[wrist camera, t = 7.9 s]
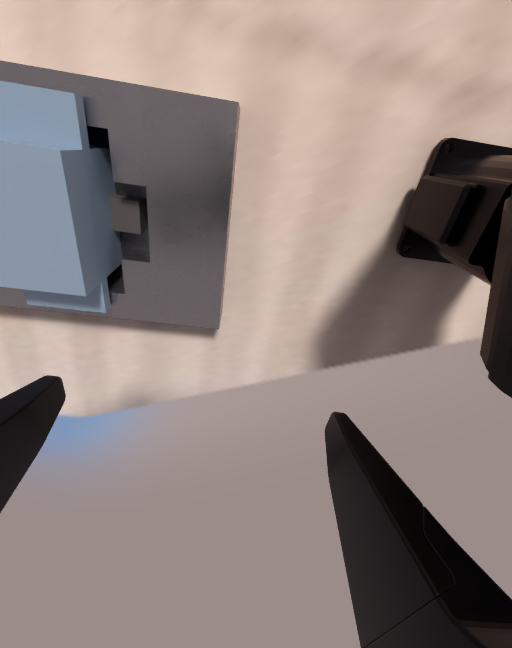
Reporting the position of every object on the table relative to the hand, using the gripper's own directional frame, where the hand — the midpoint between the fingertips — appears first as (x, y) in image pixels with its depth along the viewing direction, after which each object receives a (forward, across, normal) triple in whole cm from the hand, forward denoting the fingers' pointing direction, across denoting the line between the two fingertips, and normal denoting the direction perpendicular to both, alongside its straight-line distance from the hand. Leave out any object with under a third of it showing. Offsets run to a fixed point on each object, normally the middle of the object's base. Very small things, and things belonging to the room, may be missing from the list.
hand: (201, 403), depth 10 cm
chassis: (+12, +8, -3) cm, 14 cm away
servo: (+11, +9, -3) cm, 15 cm away
